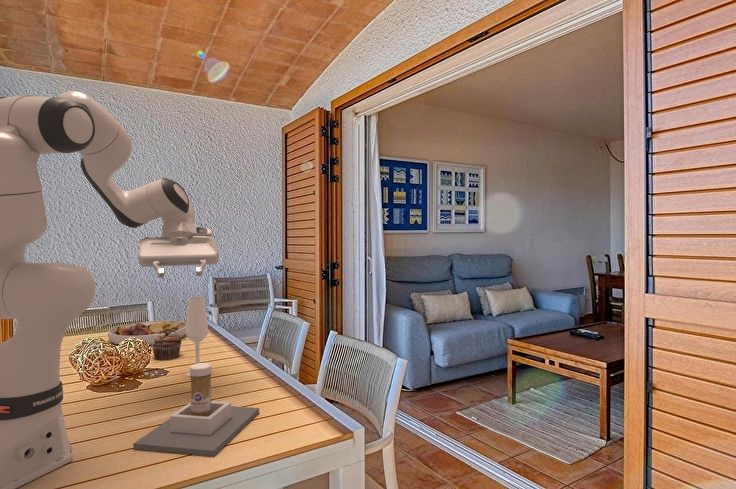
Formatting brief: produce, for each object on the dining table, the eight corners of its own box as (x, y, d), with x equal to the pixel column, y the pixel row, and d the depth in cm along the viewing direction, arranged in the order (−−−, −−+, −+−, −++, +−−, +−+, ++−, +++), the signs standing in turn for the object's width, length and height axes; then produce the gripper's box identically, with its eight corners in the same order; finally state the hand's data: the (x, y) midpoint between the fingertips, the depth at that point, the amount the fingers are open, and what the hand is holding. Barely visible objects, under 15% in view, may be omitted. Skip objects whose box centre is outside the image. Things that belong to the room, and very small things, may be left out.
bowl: (123, 333, 202) (122, 315, 202) (194, 330, 208) (193, 312, 207) (95, 350, 173) (95, 330, 172) (179, 346, 178) (179, 326, 178)
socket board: (213, 456, 91) (213, 433, 91) (133, 449, 94) (132, 426, 94) (259, 412, 113) (259, 394, 113) (192, 408, 116) (192, 389, 116)
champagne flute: (186, 371, 146) (185, 296, 145) (208, 369, 148) (207, 295, 147) (186, 377, 140) (184, 299, 139) (209, 375, 142) (208, 298, 141)
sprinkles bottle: (190, 429, 101) (189, 369, 100) (191, 421, 105) (190, 363, 105) (211, 426, 102) (211, 367, 102) (212, 418, 107) (211, 361, 106)
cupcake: (177, 352, 169) (176, 325, 169) (184, 357, 162) (184, 329, 161) (149, 356, 163) (148, 328, 163) (155, 362, 156) (155, 333, 155)
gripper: (137, 229, 123) (135, 269, 114) (217, 229, 131) (220, 265, 122) (138, 245, 127) (137, 284, 118) (215, 244, 135) (219, 280, 126)
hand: (180, 275), depth 120 cm, fingers open, 8 cm apart
